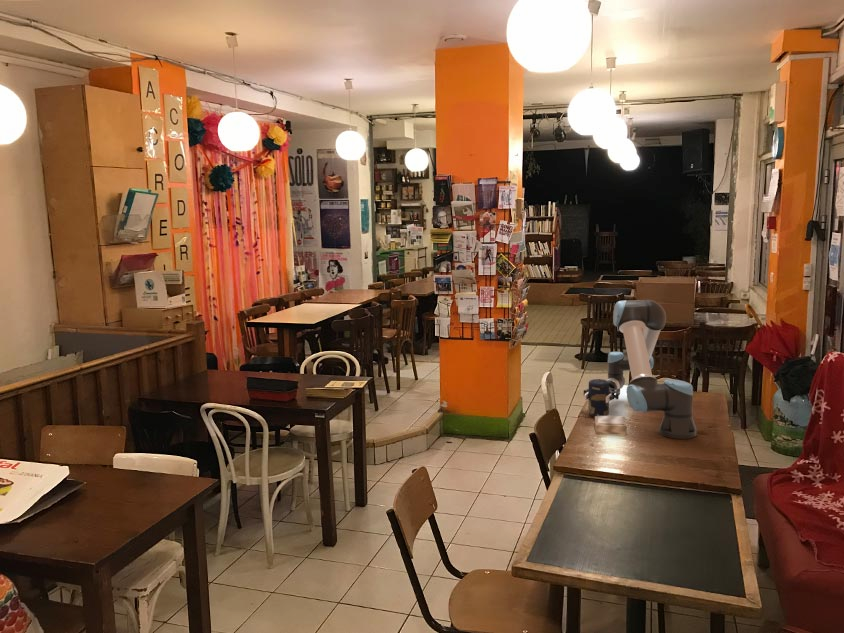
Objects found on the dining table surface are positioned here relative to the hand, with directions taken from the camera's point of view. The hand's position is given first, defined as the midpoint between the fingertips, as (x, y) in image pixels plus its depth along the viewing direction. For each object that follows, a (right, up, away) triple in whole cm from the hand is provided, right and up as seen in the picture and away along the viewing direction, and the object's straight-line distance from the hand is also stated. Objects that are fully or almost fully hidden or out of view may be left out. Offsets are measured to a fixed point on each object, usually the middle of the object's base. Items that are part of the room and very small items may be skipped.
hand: (595, 398), depth 321 cm
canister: (+3, -9, +5) cm, 11 cm away
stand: (+3, -12, -15) cm, 19 cm away
